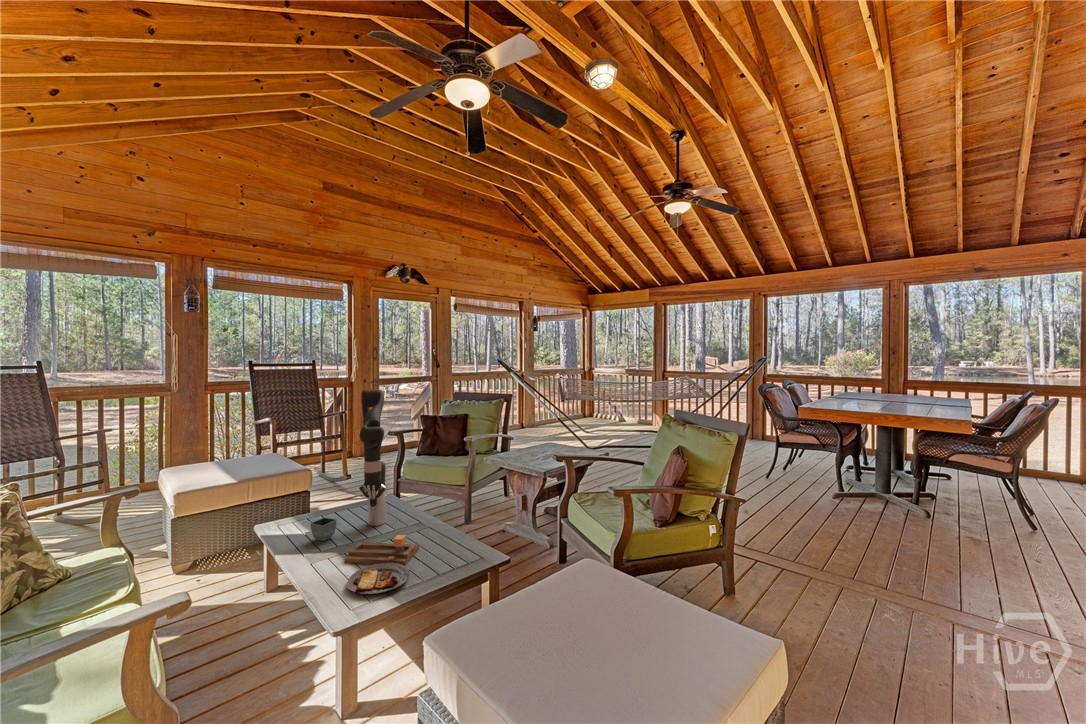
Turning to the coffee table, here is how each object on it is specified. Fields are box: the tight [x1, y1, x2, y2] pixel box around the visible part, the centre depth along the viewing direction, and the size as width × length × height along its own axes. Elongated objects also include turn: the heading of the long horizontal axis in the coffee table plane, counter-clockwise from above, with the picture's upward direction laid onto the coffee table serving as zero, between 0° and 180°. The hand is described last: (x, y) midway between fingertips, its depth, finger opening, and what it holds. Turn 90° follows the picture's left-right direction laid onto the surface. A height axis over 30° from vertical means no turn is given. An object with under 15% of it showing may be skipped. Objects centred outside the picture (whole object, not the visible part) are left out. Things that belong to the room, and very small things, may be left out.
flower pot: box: [309, 516, 337, 542], centre depth 221 cm, size 9×9×9 cm
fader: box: [392, 534, 407, 552], centre depth 203 cm, size 5×4×7 cm
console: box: [344, 541, 420, 566], centre depth 204 cm, size 16×28×4 cm, turn 84°
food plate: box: [345, 563, 410, 595], centre depth 181 cm, size 25×23×4 cm
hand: (373, 506), depth 205 cm, fingers closed
